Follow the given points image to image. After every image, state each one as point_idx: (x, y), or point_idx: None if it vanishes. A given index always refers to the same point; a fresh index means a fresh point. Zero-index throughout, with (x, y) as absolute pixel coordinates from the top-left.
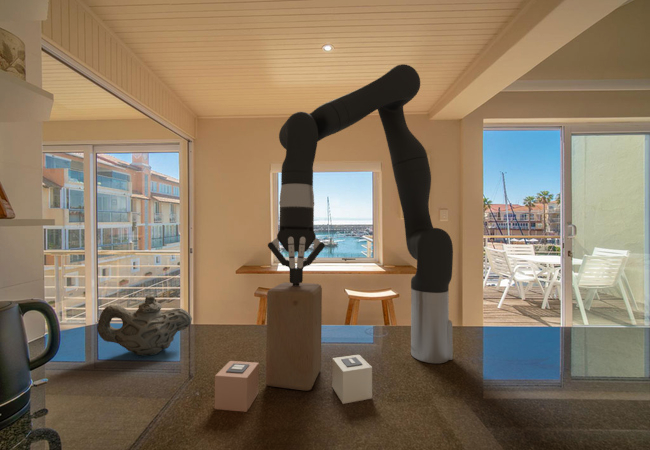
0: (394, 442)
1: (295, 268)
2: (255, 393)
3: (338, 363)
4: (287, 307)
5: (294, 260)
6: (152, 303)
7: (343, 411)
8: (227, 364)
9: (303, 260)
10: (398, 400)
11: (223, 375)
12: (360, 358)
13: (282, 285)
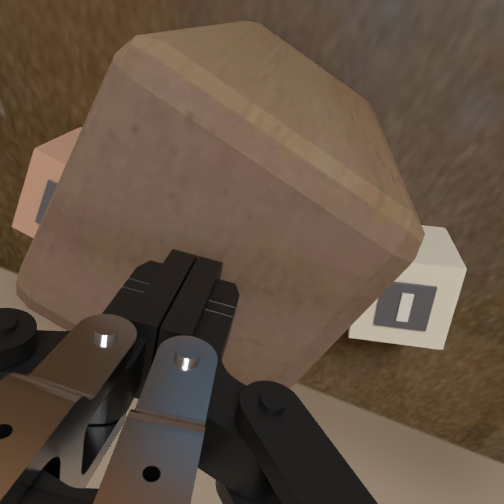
0: (371, 408)
1: (142, 379)
2: None
3: None
4: None
5: (94, 464)
6: None
7: None
8: (31, 171)
9: (212, 422)
10: (480, 331)
11: (33, 234)
12: (449, 295)
13: (103, 220)
